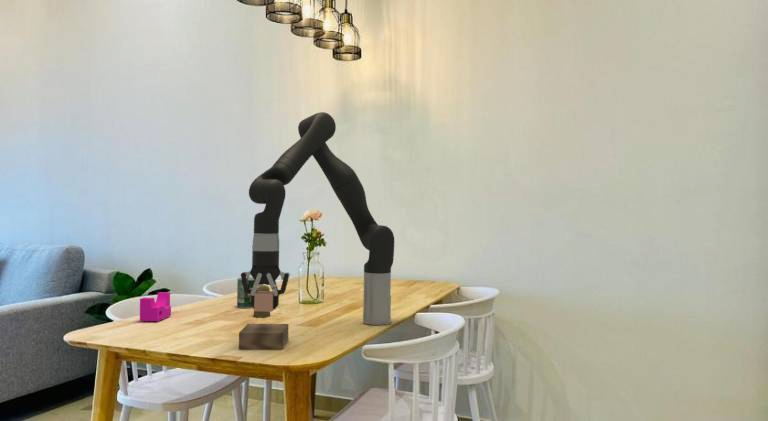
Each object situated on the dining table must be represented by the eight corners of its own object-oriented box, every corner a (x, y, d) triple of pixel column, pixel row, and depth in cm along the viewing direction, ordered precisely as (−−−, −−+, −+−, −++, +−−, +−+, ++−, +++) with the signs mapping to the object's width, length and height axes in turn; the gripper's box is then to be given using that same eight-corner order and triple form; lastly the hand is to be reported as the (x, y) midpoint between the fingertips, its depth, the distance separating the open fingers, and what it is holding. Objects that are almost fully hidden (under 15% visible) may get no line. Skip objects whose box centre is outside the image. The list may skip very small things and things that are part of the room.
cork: (249, 316, 199) (250, 285, 199) (259, 313, 205) (260, 283, 204) (264, 318, 197) (264, 287, 197) (273, 315, 202) (274, 284, 202)
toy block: (157, 321, 189) (157, 299, 189) (139, 320, 190) (140, 298, 190) (176, 313, 204) (176, 292, 204) (159, 312, 205) (160, 292, 205)
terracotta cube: (274, 308, 162) (275, 291, 162) (272, 311, 157) (272, 293, 157) (257, 308, 161) (257, 291, 161) (254, 311, 156) (254, 293, 156)
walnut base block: (288, 340, 165) (288, 323, 165) (282, 351, 153) (283, 332, 153) (247, 340, 165) (247, 323, 165) (238, 350, 153) (239, 332, 153)
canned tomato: (241, 304, 224) (241, 277, 224) (260, 305, 223) (260, 277, 223) (233, 307, 216) (234, 279, 216) (253, 308, 215) (254, 280, 215)
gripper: (292, 248, 163) (291, 306, 163) (243, 247, 162) (242, 305, 163) (289, 250, 156) (288, 311, 156) (237, 249, 155) (236, 310, 155)
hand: (264, 308), depth 159 cm, fingers closed on terracotta cube, 5 cm apart
